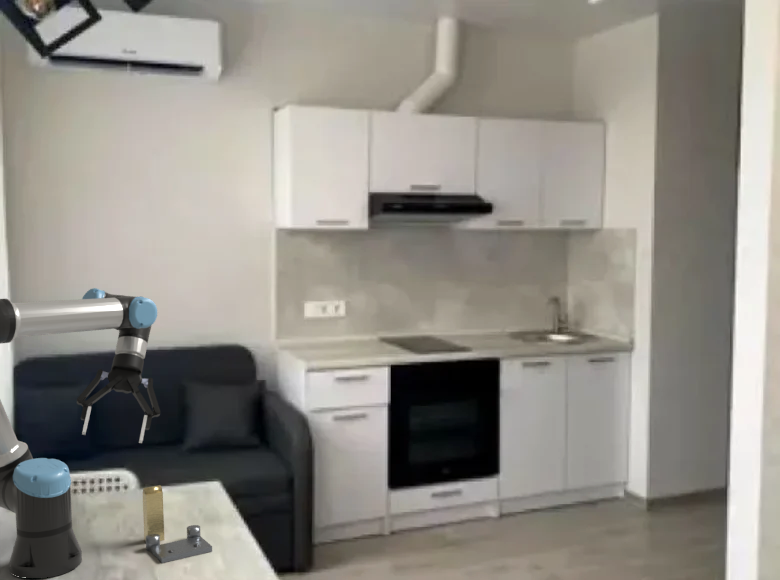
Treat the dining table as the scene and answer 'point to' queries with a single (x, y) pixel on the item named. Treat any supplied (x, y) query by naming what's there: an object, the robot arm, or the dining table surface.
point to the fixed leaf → (178, 546)
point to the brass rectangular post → (153, 511)
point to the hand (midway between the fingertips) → (112, 437)
